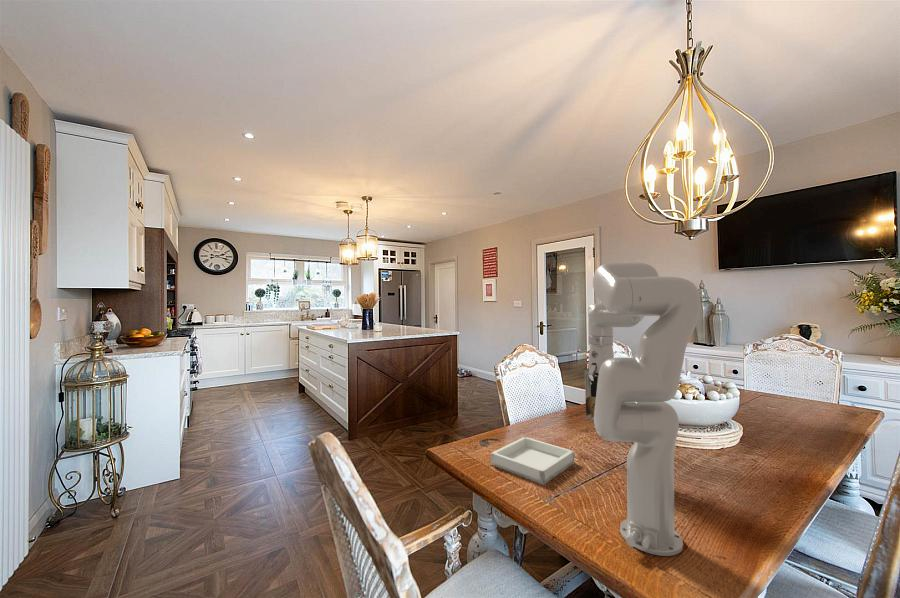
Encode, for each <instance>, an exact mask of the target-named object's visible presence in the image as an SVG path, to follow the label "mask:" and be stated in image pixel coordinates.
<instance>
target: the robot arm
mask: <svg viewBox="0 0 900 598" xmlns="http://www.w3.org/2000/svg"><path fill="white" fill-rule="evenodd" d="M592 288H593V291H594V294H595V295H596V297H597V299H598V300H599V301H600V302H599V303H598V302H597V303H591V304H590V305H588V310H587V313H588V315H587V319H588V324H587V325H588V326H587V327H588V329H587V330H588V331H587V333H588V346H589V353H588V368H589V378H590V384H591V396H592V397H596V401H595V410H594V420H593V422H594V423H593V424H594V427H595V431H596V433H597V435H598V436H599V437H600V438H601V439H603V440H605V441H609V442H620V443H621V442H622V443H624V442H625V443H630V442H633V443H632V445H631V447H630V449H629V450H628V452H627V456H626V496H627V497H626V505H627V508H626V510H627V511H626V515H627V516H626V517H627V518H626V519H624V520H622V521H621V523H620V525H619V527H620V528H619V532H620V535H621V536H622V538H623V539H624V540H625V543H626V544H627V545H628V546H629V547H631V548H636V549H637V550H640V551H642V552H644V553H647V554H650V555H655V556H661V557H672V556H675V555H679V554H680V553H681V552H682V551H683V549H684V542H683V539H682V536H681V535H680V534H679V532H677V531H676V530H675V450H676V443H677V438H678V434H679V427H680V426H679V424H680V422H679V416H678V414H677V410H675V408H674V407H673V406H672V405H671V404H669V403H667V402H668V401H671V400H673V399H674V397H675V396H676V395H677V392H678V389H679V384H680V380H681V379H680V378H681V374H682V370H683V365H684V360H685V355H686V350H687V346H688V344H689V342H690V339H691V337H692V335H693V333H694V331H695V329H696V326H697V324H698V323H699V318H700V315H701V308H702V307H701V297H700V296H701V295H700V291H699V289H698V288H697V286H696V285H695V284H694V283H693V282H692V281H691V280H688V279H685V278H682V277H677V276H676V277H675V276H660V275H659V273H658V271H657V270H656V268H655V267H653V266H652V265H650V264H647V263H645V262H608V263H607V262H606V263H603V264H601V265H599V266H598V267H597V269H596V270H595V271H594V274H593V276H592ZM645 316H646V317H651V316H652V317H654V316H655V317H656V316H658V317H659V318H658V319H657V320H655V321H654V322H653V323H652V324H651V325H649V327H648V328H647V329H646V330H645V332H643V333H642V335H641V337H640V339H639V343H638V344H639V345H638V351H637V354H636V355H635V356H634V357H614V356H615V355H614V347H613V346H614V328H633V327H635V326H637V325H638V324H639V323H640V322H641V321H642V320H643V319H644V317H645ZM595 373H598V374H599V375H594V374H595ZM595 377H596V378H598V381H597V379H596V378H595ZM634 442H635V443H634Z"/></svg>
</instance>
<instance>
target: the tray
mask: <svg viewBox="0 0 900 598" xmlns="http://www.w3.org/2000/svg"><path fill="white" fill-rule="evenodd" d="M574 464H575V451H574V450H572V449H568V448H565V447H562V446H557V445H554V444H551V443H548V442H543V441H541V440H538V439H535V438H530V437H528V436H523V437H521V438H519V439H517V440H515V441H513V442H511V443H508V444H507V445H504V446H503V447H501V448H499V449H496V450H494V451H493V452H490V466H492V465H493V466H492V467H495V466H496V467H495V468H497V467H498V468H497V469H500V470H502V469H503V470H502V471H505V470H506V472H508V471H509V472H508V473H510V472H511V473H510V474H513V473H514V474H513V475H515V474H516V475H515V476H517V477H521V478H523V477H524V479H526V480H528V479H529V481H531V482H534V483H537V484H538V485H542V486H544V485H545V484H547V483H548V482H550V481H551V480H552V479H554V478H556V477H557V476H559V474H561V473H563V472H564V471H565V470H567V469H568V468H569V467H571V466H572V465H574Z"/></svg>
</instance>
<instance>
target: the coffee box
mask: <svg viewBox="0 0 900 598" xmlns="http://www.w3.org/2000/svg"><path fill="white" fill-rule="evenodd" d="M594 375H599V374H598V373H595V374H594ZM595 378H596V377H595ZM596 379H597V381H598V378H596ZM584 388H585V391H584V393H585V397H584V398H585V419H586V420H593V421H594V410H595V401H596V397H592V396H591V384H590V378H589V367H587V369H585V370H584Z"/></svg>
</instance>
